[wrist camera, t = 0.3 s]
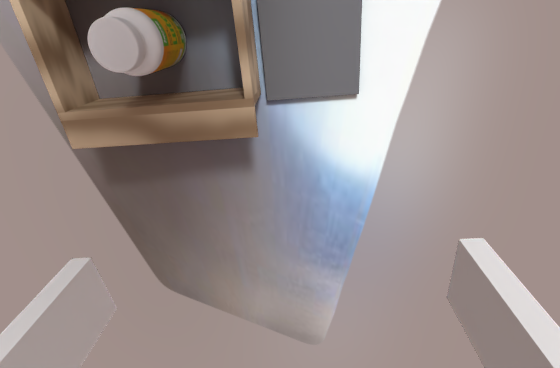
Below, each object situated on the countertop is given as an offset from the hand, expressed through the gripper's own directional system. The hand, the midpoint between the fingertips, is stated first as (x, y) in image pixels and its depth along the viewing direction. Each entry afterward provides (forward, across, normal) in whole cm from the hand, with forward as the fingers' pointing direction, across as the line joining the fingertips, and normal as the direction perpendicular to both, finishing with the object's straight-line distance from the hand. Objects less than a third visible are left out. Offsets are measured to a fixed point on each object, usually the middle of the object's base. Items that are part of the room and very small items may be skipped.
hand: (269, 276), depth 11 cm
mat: (+27, +3, +6) cm, 27 cm away
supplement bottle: (+27, -13, +8) cm, 31 cm away
